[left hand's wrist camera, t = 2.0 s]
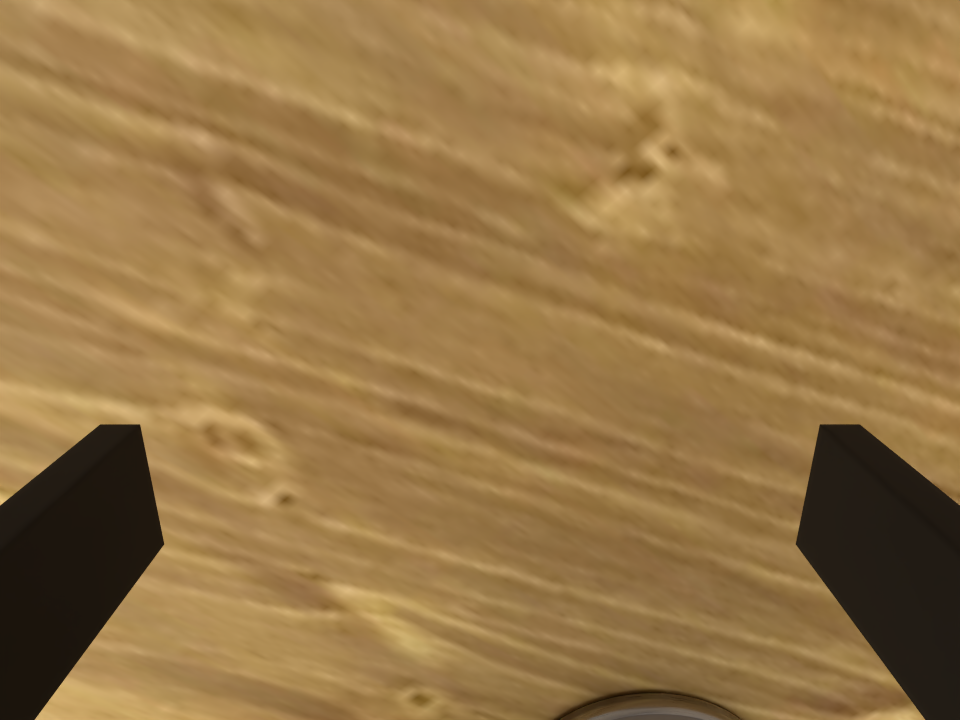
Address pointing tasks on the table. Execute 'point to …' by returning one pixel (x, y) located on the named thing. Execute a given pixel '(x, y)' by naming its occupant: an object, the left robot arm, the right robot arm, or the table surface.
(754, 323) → the table surface
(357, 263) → the table surface
